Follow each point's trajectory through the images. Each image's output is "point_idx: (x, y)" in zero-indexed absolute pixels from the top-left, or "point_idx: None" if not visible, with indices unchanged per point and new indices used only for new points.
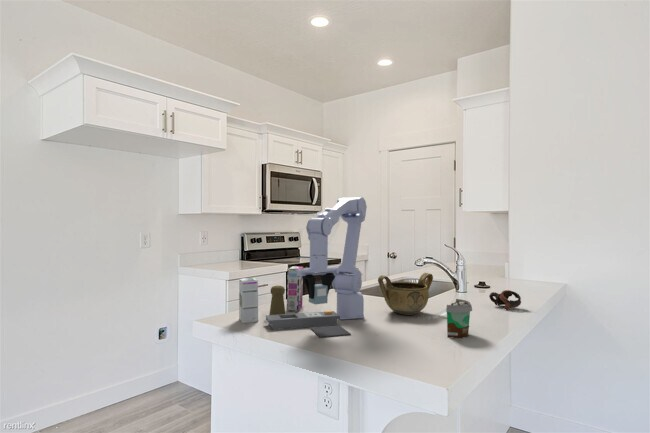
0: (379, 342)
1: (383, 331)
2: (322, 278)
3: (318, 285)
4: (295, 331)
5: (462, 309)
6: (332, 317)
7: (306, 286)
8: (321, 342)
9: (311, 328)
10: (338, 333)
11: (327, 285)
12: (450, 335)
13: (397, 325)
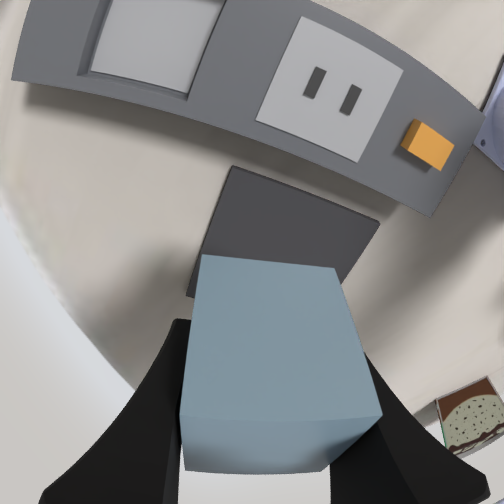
0: None
1: (414, 336)
2: (390, 494)
3: (263, 458)
4: (137, 158)
5: None
6: (393, 197)
7: (123, 412)
8: (164, 325)
9: (226, 183)
10: None
11: (331, 468)
12: (436, 404)
13: (488, 311)
